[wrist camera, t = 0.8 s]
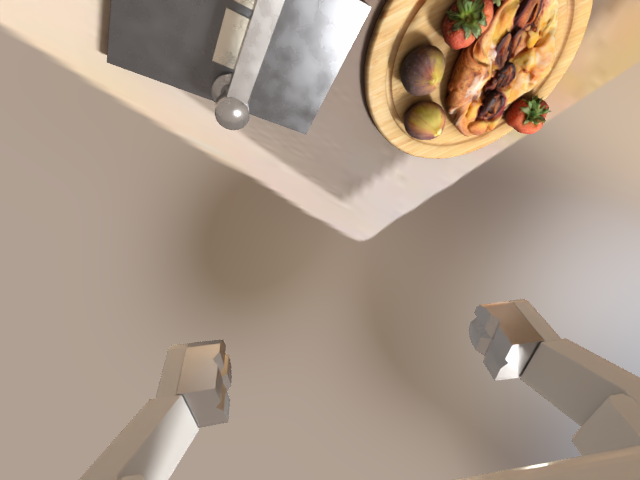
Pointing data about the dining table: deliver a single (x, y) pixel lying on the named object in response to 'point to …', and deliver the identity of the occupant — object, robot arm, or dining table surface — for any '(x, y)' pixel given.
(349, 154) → the dining table surface
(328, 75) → the board
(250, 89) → the swing bar
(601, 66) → the dining table surface
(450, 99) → the wooden plate with food
